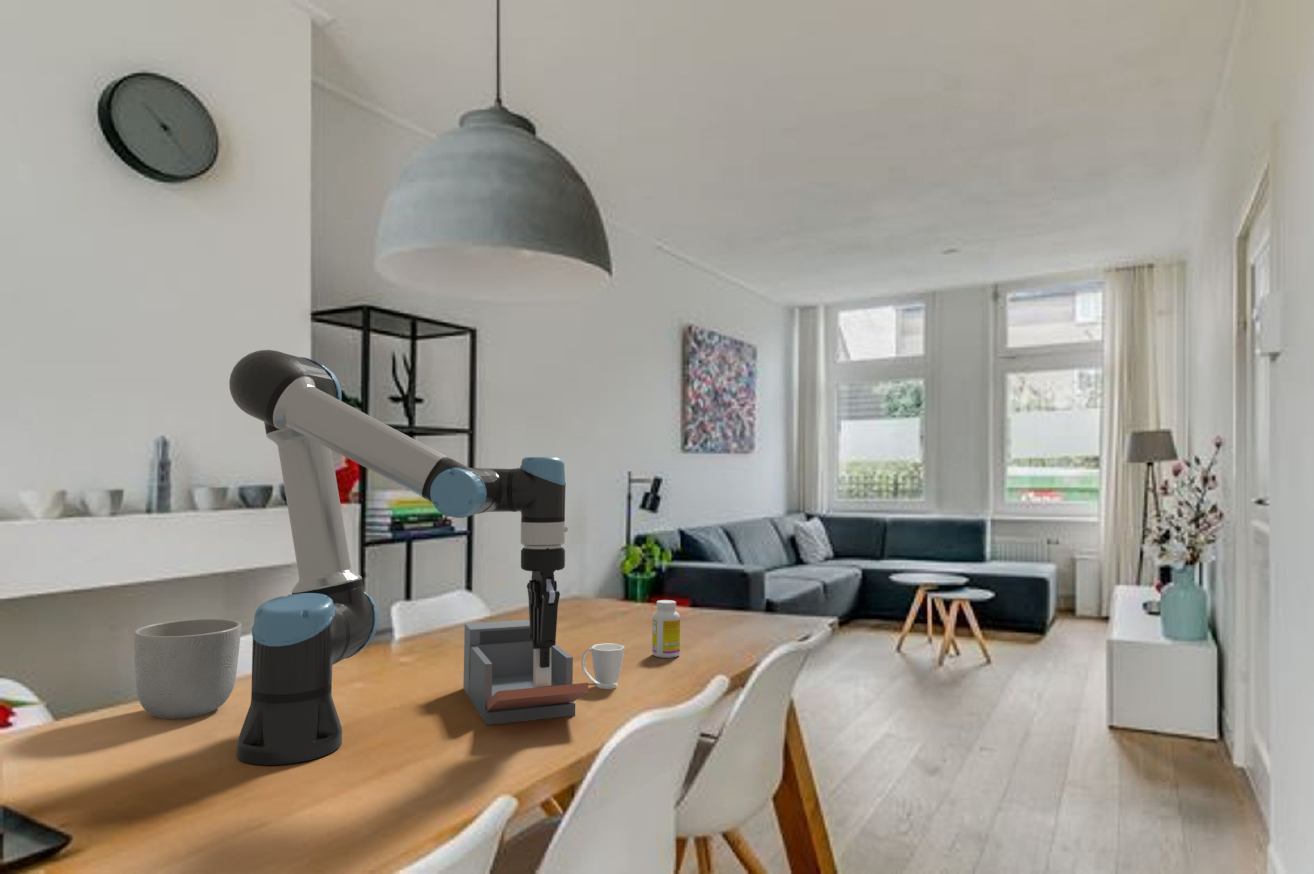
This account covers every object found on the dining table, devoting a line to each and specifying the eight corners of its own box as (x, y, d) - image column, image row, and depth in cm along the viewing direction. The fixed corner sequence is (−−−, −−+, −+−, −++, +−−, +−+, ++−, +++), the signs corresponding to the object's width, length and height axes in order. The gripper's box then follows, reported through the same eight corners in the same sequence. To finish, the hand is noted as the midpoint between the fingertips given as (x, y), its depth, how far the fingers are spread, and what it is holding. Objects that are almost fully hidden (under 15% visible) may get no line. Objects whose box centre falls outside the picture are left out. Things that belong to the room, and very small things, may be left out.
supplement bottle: (685, 654, 196) (685, 600, 197) (670, 659, 191) (671, 604, 191) (661, 650, 200) (662, 598, 200) (646, 655, 194) (647, 601, 195)
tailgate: (486, 710, 142) (498, 700, 134) (486, 702, 143) (497, 691, 134) (572, 702, 148) (588, 691, 140) (571, 693, 149) (587, 682, 140)
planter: (222, 693, 158) (224, 614, 159) (252, 713, 146) (255, 627, 147) (120, 711, 147) (123, 626, 147) (143, 734, 134) (147, 641, 135)
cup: (611, 692, 162) (611, 651, 163) (571, 685, 168) (572, 645, 168) (631, 684, 168) (631, 645, 169) (592, 677, 174) (592, 639, 174)
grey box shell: (469, 697, 158) (470, 629, 158) (463, 688, 164) (464, 623, 165) (549, 689, 164) (550, 624, 164) (540, 681, 170) (541, 618, 171)
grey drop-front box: (486, 724, 141) (487, 666, 142) (469, 697, 158) (470, 645, 158) (575, 715, 147) (576, 659, 148) (549, 689, 164) (550, 639, 164)
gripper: (575, 548, 135) (574, 692, 134) (554, 542, 148) (553, 674, 147) (530, 550, 132) (529, 697, 131) (513, 544, 145) (512, 678, 144)
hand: (542, 684), depth 139 cm, fingers closed
